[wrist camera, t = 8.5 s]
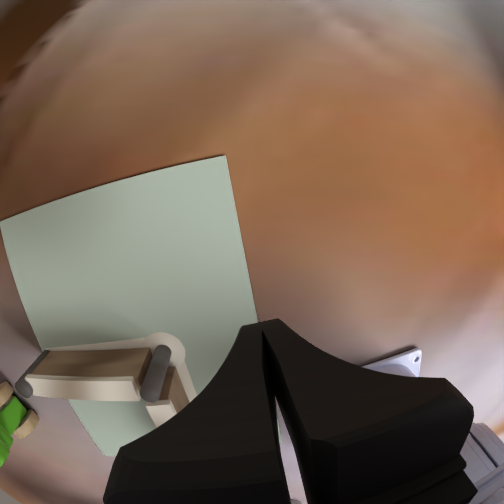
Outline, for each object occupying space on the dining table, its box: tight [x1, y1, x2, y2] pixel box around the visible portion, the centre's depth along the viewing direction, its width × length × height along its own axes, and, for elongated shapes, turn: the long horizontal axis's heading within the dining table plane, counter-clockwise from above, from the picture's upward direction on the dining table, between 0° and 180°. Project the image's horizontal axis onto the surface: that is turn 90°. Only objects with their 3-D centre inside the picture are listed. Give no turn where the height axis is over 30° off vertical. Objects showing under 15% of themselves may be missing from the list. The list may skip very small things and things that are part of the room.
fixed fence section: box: [139, 345, 190, 427], centre depth 19 cm, size 12×2×5 cm, turn 10°
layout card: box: [0, 155, 282, 456], centre depth 20 cm, size 24×18×1 cm
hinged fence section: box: [15, 347, 152, 401], centre depth 18 cm, size 10×2×5 cm, turn 97°
